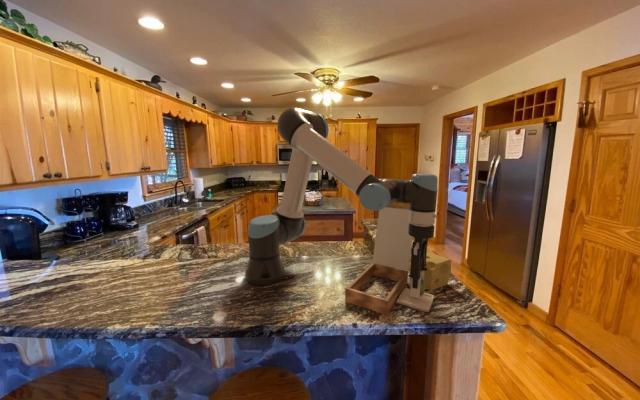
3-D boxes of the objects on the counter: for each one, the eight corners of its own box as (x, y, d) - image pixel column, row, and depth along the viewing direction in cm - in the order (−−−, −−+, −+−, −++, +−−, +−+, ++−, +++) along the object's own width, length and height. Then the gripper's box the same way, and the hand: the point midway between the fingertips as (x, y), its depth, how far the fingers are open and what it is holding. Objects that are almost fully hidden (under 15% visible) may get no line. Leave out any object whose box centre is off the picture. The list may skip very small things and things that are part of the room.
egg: (423, 290, 87) (424, 273, 86) (426, 298, 82) (427, 280, 81) (408, 289, 88) (409, 272, 87) (410, 296, 83) (411, 278, 82)
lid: (380, 203, 105) (380, 203, 106) (372, 262, 104) (373, 262, 105) (415, 207, 98) (416, 207, 99) (408, 271, 97) (408, 270, 98)
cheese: (430, 291, 91) (432, 264, 90) (407, 278, 101) (408, 254, 99) (449, 285, 96) (452, 259, 94) (426, 273, 105) (428, 249, 104)
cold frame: (345, 301, 85) (346, 260, 83) (376, 268, 109) (377, 236, 107) (387, 315, 78) (389, 271, 75) (410, 277, 102) (412, 243, 99)
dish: (397, 302, 84) (397, 300, 84) (404, 290, 92) (405, 287, 92) (428, 312, 79) (429, 309, 79) (434, 298, 87) (434, 295, 87)
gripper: (429, 232, 72) (423, 309, 76) (438, 219, 87) (433, 284, 91) (401, 228, 76) (397, 302, 80) (415, 216, 91) (411, 278, 94)
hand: (416, 292), depth 85 cm, fingers closed on egg, 5 cm apart
